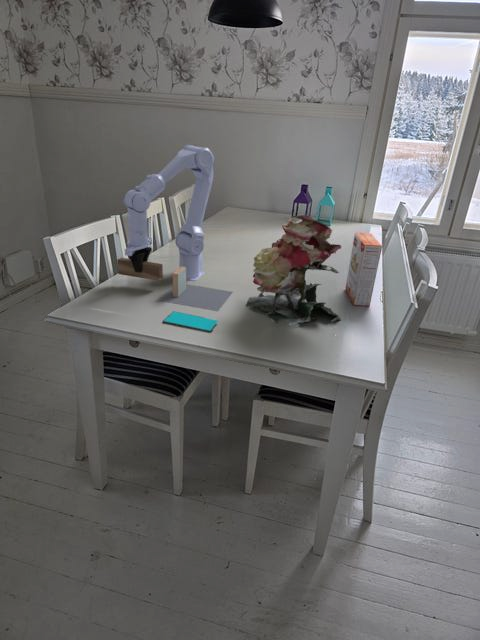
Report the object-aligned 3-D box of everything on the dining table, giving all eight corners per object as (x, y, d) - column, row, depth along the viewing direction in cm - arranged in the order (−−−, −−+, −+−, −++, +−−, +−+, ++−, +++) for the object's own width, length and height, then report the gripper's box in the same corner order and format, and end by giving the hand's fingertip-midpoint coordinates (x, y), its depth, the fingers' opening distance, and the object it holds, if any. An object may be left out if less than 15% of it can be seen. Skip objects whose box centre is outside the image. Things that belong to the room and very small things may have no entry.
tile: (181, 288, 142) (181, 266, 139) (186, 289, 142) (186, 267, 138) (173, 296, 136) (172, 273, 133) (178, 297, 136) (177, 274, 132)
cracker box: (343, 289, 152) (354, 231, 142) (360, 290, 152) (372, 232, 142) (351, 305, 139) (363, 244, 130) (370, 306, 139) (383, 245, 130)
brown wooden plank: (122, 271, 143) (121, 257, 141) (162, 278, 140) (162, 264, 138) (118, 274, 141) (117, 259, 139) (159, 280, 138) (159, 266, 136)
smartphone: (211, 331, 117) (162, 321, 121) (211, 334, 118) (162, 323, 121) (220, 320, 124) (173, 311, 127) (220, 322, 124) (173, 313, 128)
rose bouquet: (290, 286, 151) (300, 200, 138) (349, 319, 130) (368, 222, 116) (228, 298, 138) (233, 206, 125) (283, 338, 117) (296, 231, 103)
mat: (178, 283, 147) (178, 282, 147) (233, 292, 143) (233, 291, 143) (157, 301, 133) (157, 300, 133) (217, 312, 129) (218, 311, 129)
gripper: (137, 223, 141) (139, 261, 147) (114, 234, 128) (118, 275, 134) (157, 225, 139) (158, 264, 145) (135, 237, 127) (138, 279, 133)
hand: (140, 270), depth 140 cm, fingers closed on brown wooden plank, 2 cm apart
